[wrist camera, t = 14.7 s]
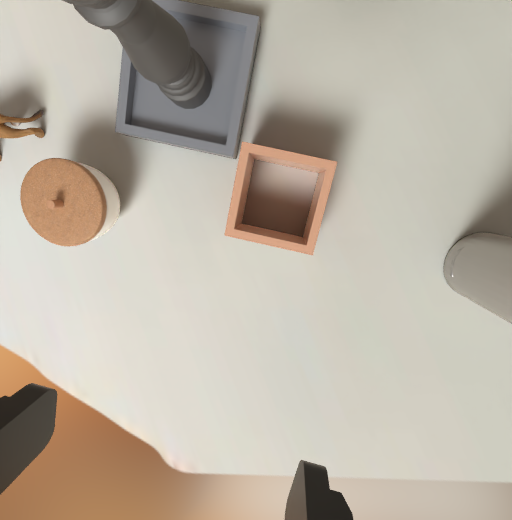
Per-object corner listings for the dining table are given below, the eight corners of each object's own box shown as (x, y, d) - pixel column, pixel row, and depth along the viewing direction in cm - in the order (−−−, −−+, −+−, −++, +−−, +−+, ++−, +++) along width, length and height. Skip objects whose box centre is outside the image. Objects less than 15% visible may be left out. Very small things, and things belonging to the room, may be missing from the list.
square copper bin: (328, 167, 40) (337, 161, 33) (307, 245, 43) (312, 255, 36) (248, 150, 41) (242, 141, 34) (233, 228, 43) (224, 235, 36)
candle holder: (168, 52, 38) (-37, -202, 13) (215, 61, 38) (94, -182, 13) (162, 104, 39) (-32, -40, 15) (207, 113, 39) (85, -19, 15)
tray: (260, 27, 37) (259, 16, 35) (236, 159, 41) (233, 157, 38) (138, 3, 38) (128, -10, 35) (124, 135, 41) (115, 131, 39)
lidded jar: (56, 219, 45) (-1, 226, 36) (74, 151, 43) (18, 140, 34) (120, 248, 45) (80, 263, 36) (143, 182, 43) (105, 180, 34)
